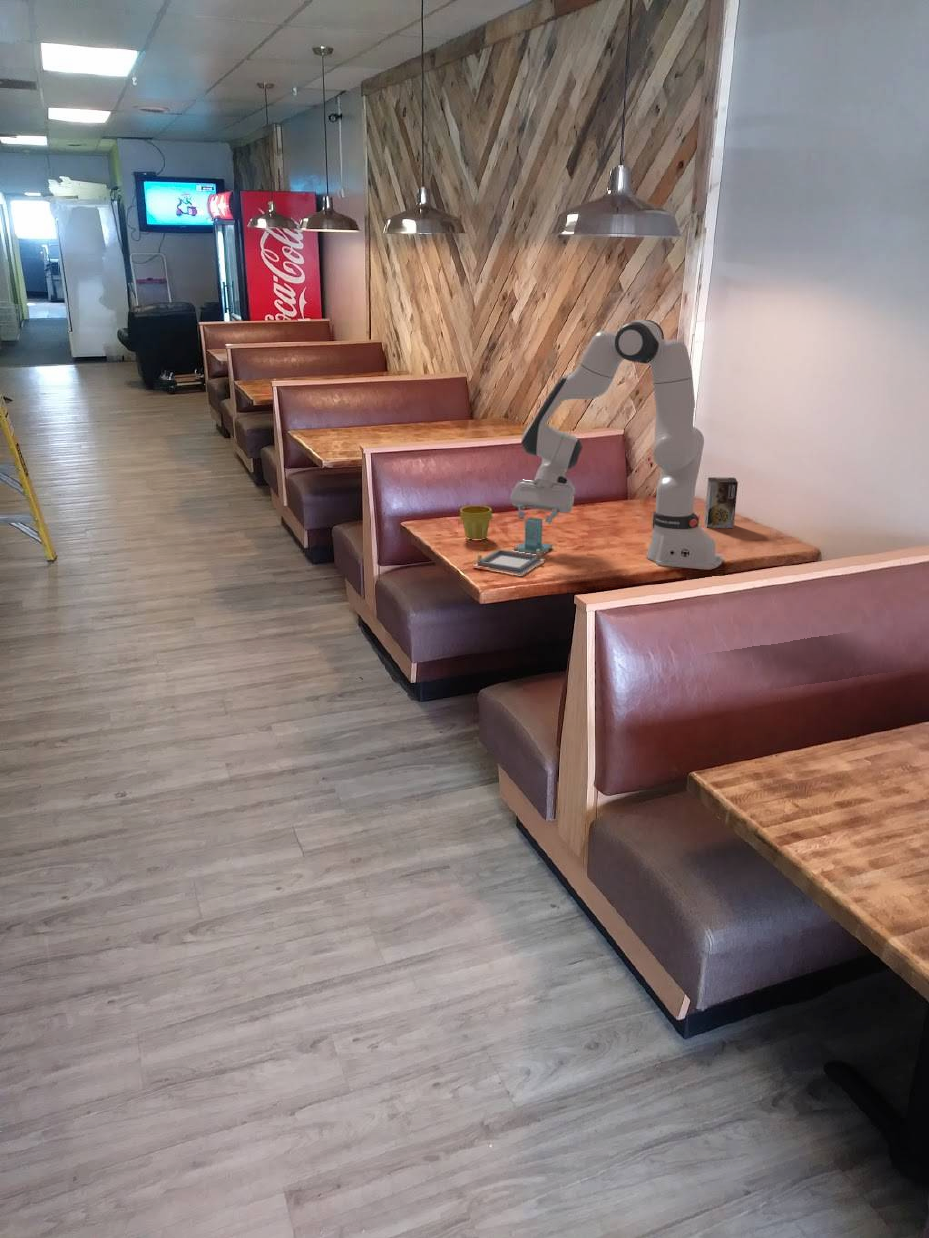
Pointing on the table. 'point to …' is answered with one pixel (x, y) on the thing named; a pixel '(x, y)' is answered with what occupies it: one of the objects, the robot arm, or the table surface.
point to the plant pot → (476, 521)
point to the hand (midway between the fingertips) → (534, 520)
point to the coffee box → (721, 502)
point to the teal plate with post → (533, 537)
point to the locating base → (510, 561)
